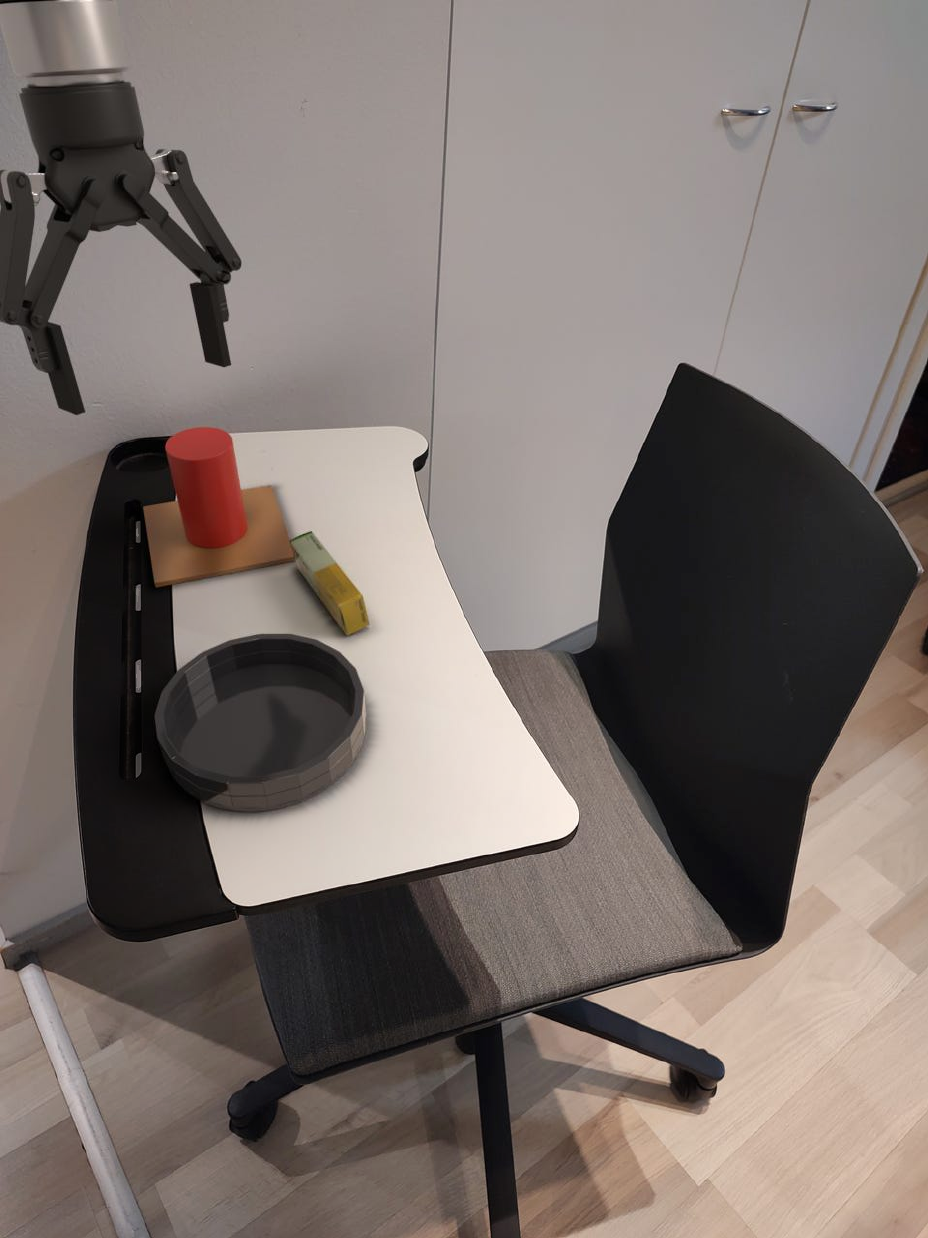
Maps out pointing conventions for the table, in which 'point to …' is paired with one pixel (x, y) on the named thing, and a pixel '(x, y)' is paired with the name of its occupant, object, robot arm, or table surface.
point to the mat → (191, 562)
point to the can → (207, 486)
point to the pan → (261, 722)
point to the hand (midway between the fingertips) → (149, 386)
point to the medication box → (330, 583)
